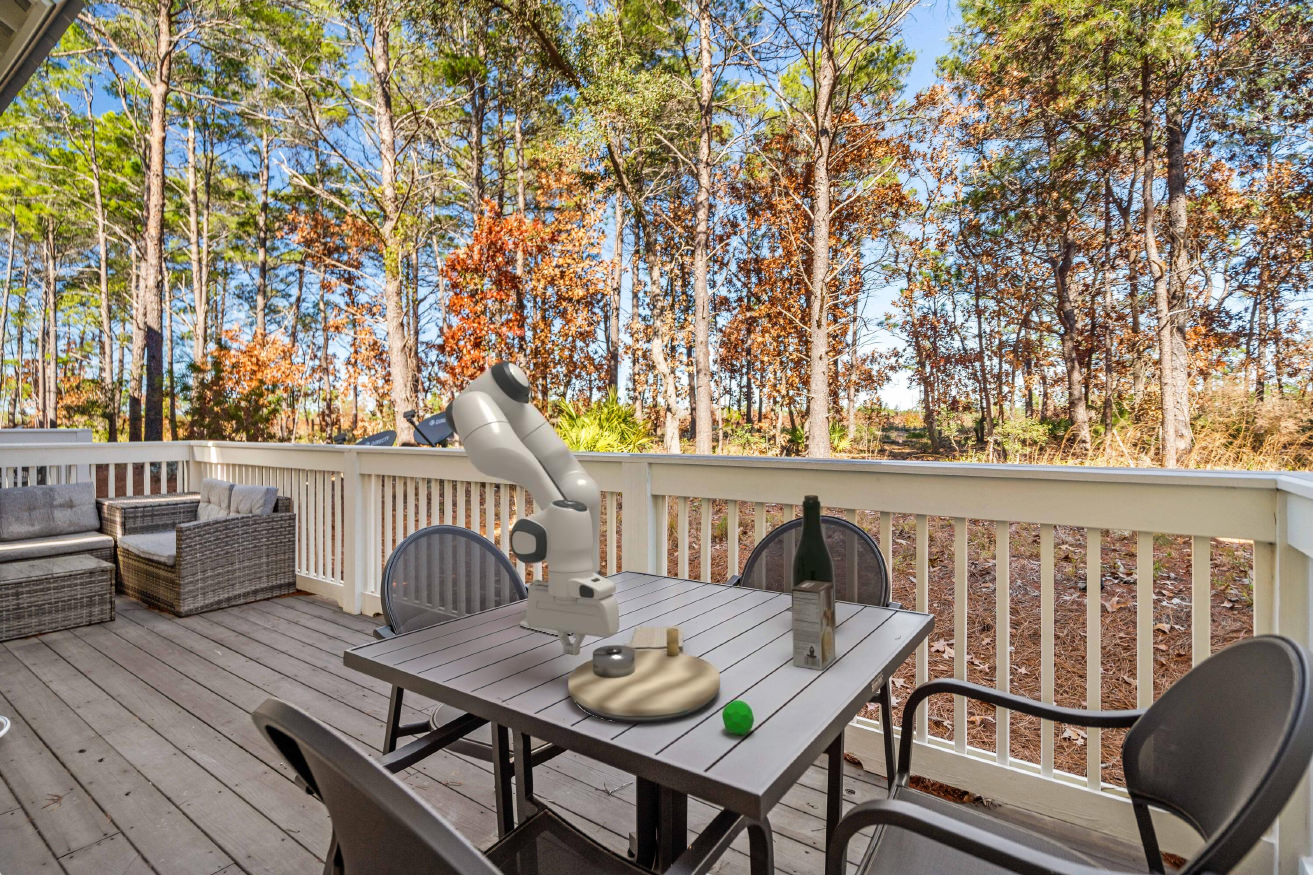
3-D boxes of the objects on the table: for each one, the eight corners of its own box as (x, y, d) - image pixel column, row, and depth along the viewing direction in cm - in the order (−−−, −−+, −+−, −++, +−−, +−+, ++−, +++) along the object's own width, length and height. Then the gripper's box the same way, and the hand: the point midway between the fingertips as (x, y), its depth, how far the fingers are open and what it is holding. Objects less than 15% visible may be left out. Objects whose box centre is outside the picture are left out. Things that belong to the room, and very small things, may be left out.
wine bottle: (844, 635, 149) (841, 496, 149) (803, 638, 147) (800, 497, 147) (823, 622, 159) (821, 492, 160) (785, 626, 157) (782, 494, 158)
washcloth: (629, 660, 135) (629, 646, 135) (633, 635, 153) (633, 622, 153) (684, 660, 135) (684, 645, 135) (682, 635, 153) (682, 622, 153)
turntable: (536, 698, 110) (536, 661, 110) (617, 650, 135) (616, 620, 135) (682, 728, 98) (681, 686, 98) (741, 669, 123) (740, 636, 123)
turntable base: (545, 707, 111) (544, 684, 111) (619, 660, 134) (619, 641, 134) (679, 735, 99) (679, 710, 99) (735, 678, 123) (735, 658, 123)
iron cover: (584, 674, 118) (584, 652, 118) (606, 660, 125) (606, 640, 125) (622, 680, 114) (621, 658, 114) (642, 666, 121) (642, 645, 121)
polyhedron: (720, 726, 102) (719, 696, 102) (750, 724, 103) (749, 695, 103) (725, 740, 97) (724, 709, 97) (756, 739, 98) (756, 708, 98)
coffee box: (806, 653, 137) (805, 579, 137) (836, 658, 133) (834, 582, 134) (792, 666, 129) (790, 587, 129) (823, 671, 126) (821, 591, 126)
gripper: (518, 581, 125) (519, 651, 125) (605, 591, 116) (606, 666, 116) (538, 575, 131) (539, 642, 131) (623, 584, 122) (623, 656, 122)
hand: (571, 653), depth 123 cm, fingers closed
